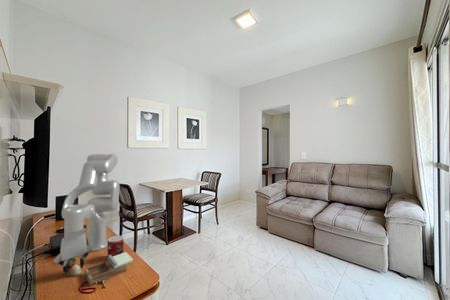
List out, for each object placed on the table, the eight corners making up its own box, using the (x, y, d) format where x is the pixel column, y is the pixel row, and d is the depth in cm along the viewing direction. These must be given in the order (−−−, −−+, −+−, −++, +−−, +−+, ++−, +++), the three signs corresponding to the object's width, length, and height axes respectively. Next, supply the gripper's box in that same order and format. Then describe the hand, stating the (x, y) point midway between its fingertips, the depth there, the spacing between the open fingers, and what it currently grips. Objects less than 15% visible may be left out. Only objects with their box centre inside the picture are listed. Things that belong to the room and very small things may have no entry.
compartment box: (84, 274, 92) (84, 268, 92) (118, 261, 103) (118, 256, 103) (89, 286, 84) (89, 279, 84) (125, 271, 95) (125, 265, 95)
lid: (108, 259, 99) (108, 255, 99) (125, 253, 105) (125, 249, 105) (114, 268, 91) (114, 263, 92) (133, 260, 98) (133, 256, 98)
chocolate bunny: (78, 268, 98) (79, 248, 98) (82, 274, 93) (83, 253, 93) (65, 273, 93) (65, 253, 94) (68, 279, 88) (68, 258, 89)
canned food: (109, 255, 110) (109, 236, 110) (124, 252, 112) (124, 234, 113) (105, 262, 102) (106, 242, 103) (122, 259, 105) (122, 239, 105)
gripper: (92, 226, 102) (92, 259, 102) (50, 236, 90) (49, 274, 89) (96, 230, 97) (96, 265, 97) (51, 241, 85) (51, 282, 84)
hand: (73, 269), depth 93 cm, fingers closed on chocolate bunny, 5 cm apart
